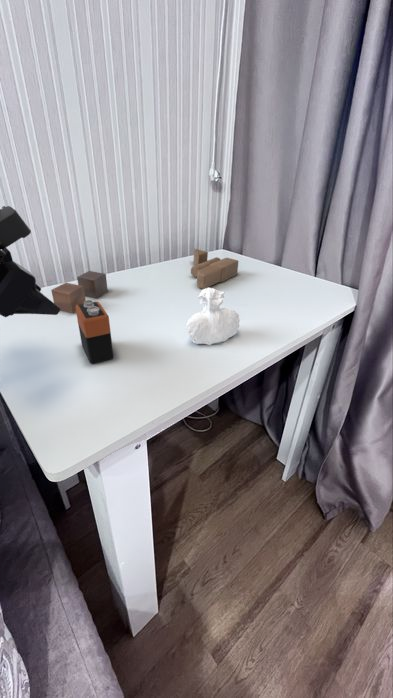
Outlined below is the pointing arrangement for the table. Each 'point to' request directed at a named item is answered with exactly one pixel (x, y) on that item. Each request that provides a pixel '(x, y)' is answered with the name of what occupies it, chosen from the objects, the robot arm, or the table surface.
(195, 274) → the wooden block set
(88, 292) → the line block far
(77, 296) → the line block near
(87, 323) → the battery
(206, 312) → the bust
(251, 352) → the table surface
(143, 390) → the table surface
